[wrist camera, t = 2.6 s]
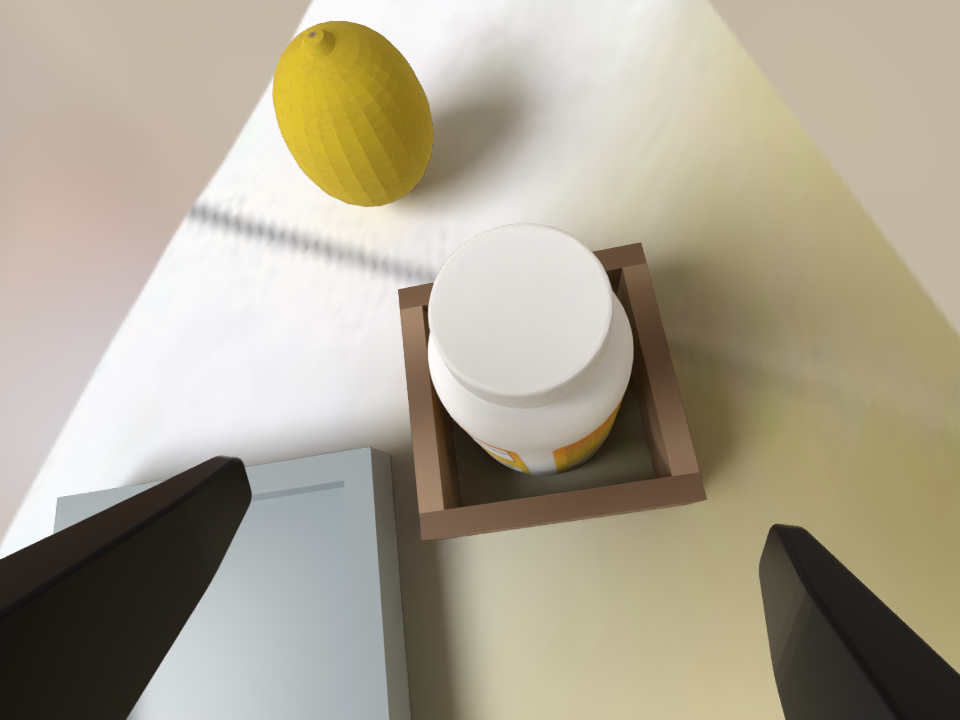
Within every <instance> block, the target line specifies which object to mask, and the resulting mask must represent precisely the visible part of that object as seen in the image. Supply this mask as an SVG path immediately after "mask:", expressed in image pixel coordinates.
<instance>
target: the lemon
mask: <svg viewBox="0 0 960 720" xmlns="http://www.w3.org/2000/svg"><path fill="white" fill-rule="evenodd" d="M272 96H273V104H274V108H275V113H276V118H277V121H278V125H279V128H280V131H281V134H282V136H283V138H284V141H285V143H286V145H287V147H288V148H289V150H290V152H291V154H292V155H293V157H294V159H295V160H296V162H297V164H298V165H299V167H300V168H301V169H302V171H303V172H304V173H305V174H306V175H307V176H308V177H309V178H310V179H311V180H312V181H313V182H314V183H315V184H316V185H317V186H319V187H320V188H321V189H322V190H323V191H324V192H326V193H327V194H329V195H330V196H332V197H334V198H336V199H339V200H341V201H343V202H345V203H348V204H352V205H358V206H364V207H372V206H382V205H385V204H388V203H392V202H394V201H396V200H398V199H400V198H402V197H403V196H405V195H406V194H407V193H408V192H410V191H411V190H412V189H413V188H414V187H415V186H416V185H417V183H418V182H419V181H420V179H421V178H422V177H423V175H424V173H425V171H426V168H427V166H428V164H429V161H430V158H431V153H432V146H433V125H432V119H431V113H430V108H429V104H428V100H427V97H426V95H425V92H424V90H423V88H422V86H421V84H420V82H419V81H418V79H417V77H416V75H415V73H414V71H413V70H412V68H411V66H410V65H409V63H408V62H407V60H406V59H405V58H404V56H403V55H402V54H401V53H400V52H399V51H398V50H397V49H396V48H395V47H394V46H393V45H392V44H391V43H390V42H389V41H388V40H387V39H386V38H385V37H384V36H382V35H381V34H379V33H378V32H376V31H374V30H372V29H370V28H368V27H366V26H364V25H360V24H357V23H352V22H347V21H329V22H325V23H320V24H317V25H315V26H312V27H310V28H308V29H306V30H305V31H303V32H302V33H300V34H299V35H298V36H296V37H295V38H294V39H293V40H292V41H291V42H290V44H289V45H288V46H287V48H286V49H285V51H284V53H283V54H282V56H281V57H280V60H279V63H278V65H277V68H276V71H275V74H274V82H273V95H272Z"/></svg>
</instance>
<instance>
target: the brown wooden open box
mask: <svg viewBox="0 0 960 720" xmlns="http://www.w3.org/2000/svg"><path fill="white" fill-rule="evenodd" d="M593 253H594V255H595V256H596V257H597V258H598V259H599V261H600V262H601V264H602V265H603V267H604V269H605V271H606V273H607V276H608V278H609V281H610V284H611V288H612V291H613V292H614V293H615V295H616V296H617V298H618V300H619V301H620V303H621V305H622V306H623V308H624V310H625V313H626V315H627V317H628V320H629V324H630V327H631V331H632V336H633V363H632V369H631V371H632V376H633V380H634V384H635V389H636V393H637V397H638V402H639V406H640V410H641V415H642V419H643V424H644V428H645V432H646V437H647V441H648V445H649V450H650V454H651V458H652V463H653V467H654V471H655V476H656V479H650V480H643V481H636V482H629V483H623V484H616V485H609V486H602V487H596V488H589V489H582V490H575V491H568V492H562V493H555V494H548V495H541V496H535V497H528V498H521V499H514V500H508V501H501V502H494V503H487V504H480V505H474V506H467V507H461V502H460V493H459V485H458V476H457V468H456V459H455V451H454V442H453V434H452V425H451V417H450V414H449V413H448V411H447V409H446V408H445V406H444V405H443V403H442V402H441V400H440V398H439V396H438V394H437V392H436V389H435V387H434V384H433V381H432V378H431V374H430V369H429V362H428V342H429V335H430V328H429V320H428V306H429V300H430V295H431V291H432V288H433V285H434V283H429V284H424V285H419V286H413V287H408V288H403V289H398V294H399V305H400V315H401V326H402V337H403V347H404V358H405V369H406V380H407V390H408V401H409V412H410V422H411V433H412V444H413V454H414V465H415V476H416V486H417V497H418V508H419V518H420V529H421V540H438V539H449V538H456V537H463V536H470V535H477V534H484V533H491V532H498V531H505V530H512V529H519V528H526V527H533V526H540V525H547V524H554V523H561V522H568V521H575V520H582V519H589V518H597V517H604V516H611V515H618V514H625V513H632V512H639V511H646V510H653V509H660V508H667V507H674V506H681V505H687V504H691V503H695V502H699V501H703V500H707V498H706V495H705V491H704V487H703V483H702V479H701V475H700V471H699V467H698V463H697V459H696V455H695V452H694V448H693V444H692V440H691V436H690V432H689V428H688V424H687V420H686V416H685V412H684V408H683V405H682V401H681V397H680V393H679V389H678V385H677V381H676V377H675V373H674V369H673V365H672V362H671V358H670V354H669V350H668V346H667V342H666V338H665V334H664V330H663V326H662V322H661V318H660V315H659V311H658V307H657V303H656V299H655V295H654V291H653V287H652V283H651V279H650V275H649V272H648V268H647V264H646V260H645V256H644V252H643V248H642V244H641V243H636V244H631V245H626V246H620V247H615V248H610V249H605V250H600V251H595V252H593Z"/></svg>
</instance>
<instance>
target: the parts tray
mask: <svg viewBox="0 0 960 720" xmlns="http://www.w3.org/2000/svg"><path fill="white" fill-rule="evenodd" d="M245 469H246V473H247V476H248V480H249V483H250V487H251V491H252V499H251V503H250V506H249V508H248V510H247V512H246V514H245V516H244V518H243V520H242V522H241V524H240V526H239V528H238V530H237V532H236V534H235V536H234V539H233V541H232V543H231V545H230V547H229V549H228V551H227V553H226V555H225V557H224V559H223V561H222V563H221V565H220V567H219V569H218V571H217V573H216V574H215V576H214V578H213V580H212V582H211V583H210V585H209V587H208V589H207V590H206V592H205V594H204V595H203V597H202V598H201V600H200V602H199V603H198V605H197V607H196V608H195V610H194V611H193V613H192V615H191V616H190V618H189V619H188V621H187V623H186V624H185V626H184V628H183V629H182V631H181V632H180V634H179V636H178V637H177V639H176V640H175V642H174V644H173V645H172V647H171V648H170V650H169V652H168V653H167V655H166V657H165V658H164V660H163V661H162V663H161V665H160V666H159V668H158V669H157V671H156V673H155V674H154V676H153V678H152V679H151V681H150V682H149V684H148V686H147V687H146V689H145V690H144V692H143V694H142V695H141V697H140V698H139V700H138V702H137V703H136V705H135V707H134V708H133V710H132V711H131V713H130V715H129V716H128V718H127V719H126V720H411V711H410V699H409V686H408V674H407V661H406V649H405V636H404V624H403V611H402V599H401V586H400V574H399V561H398V549H397V536H396V524H395V511H394V499H393V486H392V474H391V461H390V455H388V454H386V453H383V452H381V451H379V450H377V449H374V448H372V447H366V448H360V449H354V450H348V451H341V452H335V453H329V454H323V455H317V456H311V457H305V458H298V459H292V460H286V461H280V462H274V463H268V464H262V465H255V466H249V467H245ZM164 481H166V480H163V481H157V482H151V483H145V484H139V485H132V486H126V487H120V488H114V489H108V490H102V491H96V492H89V493H83V494H77V495H71V496H65V497H59V498H57V506H56V515H55V525H54V534H55V533H57V532H59V531H61V530H63V529H65V528H67V527H69V526H71V525H74V524H76V523H78V522H80V521H82V520H84V519H86V518H88V517H90V516H92V515H94V514H97V513H99V512H101V511H103V510H105V509H107V508H109V507H111V506H113V505H115V504H118V503H120V502H122V501H124V500H126V499H128V498H130V497H132V496H134V495H136V494H138V493H141V492H143V491H145V490H147V489H149V488H151V487H153V486H155V485H157V484H159V483H161V482H164Z"/></svg>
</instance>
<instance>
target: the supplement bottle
mask: <svg viewBox="0 0 960 720" xmlns="http://www.w3.org/2000/svg"><path fill="white" fill-rule="evenodd" d="M428 320H429V328H430V335H429V342H428V362H429V369H430V374H431V378H432V381H433V384H434V387H435V389H436V392H437V394H438V396H439V398H440V400H441V402H442V403H443V405H444V406H445V408H446V409H447V411H448V413H449V414H450V415H451V417H452V418H453V419H454V420H455V421H456V422H457V423H458V424H459V425H460V426H461V427H462V428H463V429H464V430H465V431H466V432H467V433H468V434H469V435H470V436H471V437H472V438H473V439H474V440H475V441H476V442H477V443H478V444H479V445H481V446H482V448H483V449H485V450H486V451H487V452H488V453H489V454H490V455H491V456H492V457H493V458H495V459H496V460H497V461H498V462H500V463H501V464H503V465H505V466H507V467H508V468H511V469H513V470H515V471H518V472H521V473H525V474H529V475H537V476H547V475H556V474H560V473H564V472H567V471H569V470H572V469H574V468H576V467H578V466H580V465H581V464H583V463H584V462H586V461H587V460H588V459H590V458H591V457H592V456H593V455H594V454H595V453H596V452H597V451H598V450H599V449H600V447H601V446H602V445H603V443H604V442H605V440H606V439H607V437H608V435H609V433H610V431H611V429H612V426H613V423H614V421H615V418H616V415H617V412H618V410H619V407H620V404H621V401H622V399H623V396H624V394H625V391H626V388H627V385H628V382H629V379H630V375H631V369H632V363H633V336H632V331H631V327H630V324H629V320H628V317H627V315H626V313H625V310H624V308H623V306H622V305H621V303H620V301H619V300H618V298H617V296H616V295H615V293H614V292H613V291H612V288H611V284H610V281H609V278H608V276H607V273H606V271H605V269H604V267H603V265H602V264H601V262H600V261H599V259H598V258H597V257H596V256H595V255H594V253H593V252H592V251H591V250H590V249H589V248H588V247H587V246H586V245H584V244H583V243H582V242H581V241H579V240H578V239H576V238H575V237H573V236H571V235H570V234H568V233H566V232H563V231H561V230H559V229H556V228H553V227H549V226H544V225H539V224H511V225H505V226H501V227H497V228H494V229H491V230H488V231H486V232H484V233H481V234H479V235H477V236H475V237H474V238H472V239H470V240H469V241H467V242H466V243H465V244H463V245H462V246H461V247H460V248H459V249H457V250H456V251H455V252H454V253H453V255H452V256H451V257H450V258H449V259H448V260H447V261H446V263H445V264H444V266H443V267H442V269H441V270H440V272H439V274H438V275H437V277H436V280H435V282H434V285H433V288H432V291H431V295H430V300H429V306H428Z"/></svg>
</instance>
